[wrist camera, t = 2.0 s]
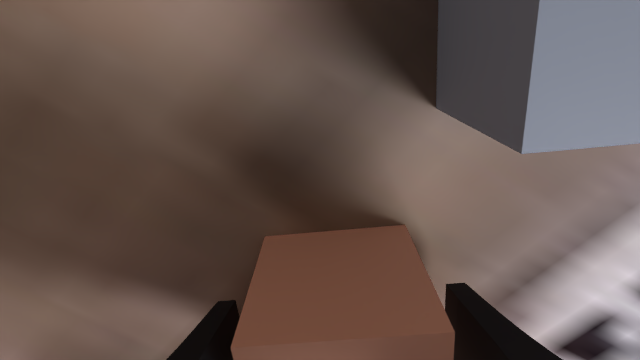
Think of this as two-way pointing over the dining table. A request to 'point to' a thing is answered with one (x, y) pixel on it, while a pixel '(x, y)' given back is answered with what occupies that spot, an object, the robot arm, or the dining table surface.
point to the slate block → (542, 71)
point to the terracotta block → (342, 300)
